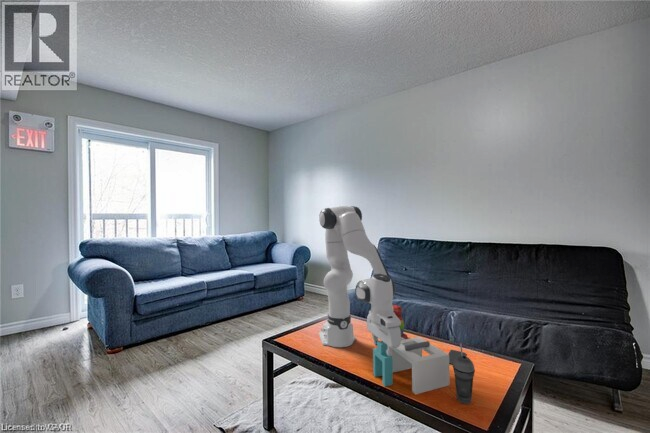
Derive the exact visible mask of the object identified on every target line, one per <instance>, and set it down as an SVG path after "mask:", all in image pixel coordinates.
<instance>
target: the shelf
mask: <svg viewBox="0 0 650 433" xmlns="http://www.w3.org/2000/svg"><path fill="white" fill-rule="evenodd" d="M423 351H424V352H426V353H427V354H429V355H424V356H423ZM391 356H392V361H393V373H397V372H398V373H399V372H402V371H406V370H410V369H411V392H412V393H413V394H414V395H419V394H423V393H426V392H430V391H433V390H437V389H440V388H445V387H448V386H450V364H449V353H447V352H446V351H444V350H443V349H440V347H437V346H435V345H433V344H432V343H431V342H430V341H428V340H425V339H423V338H421V337H420V336H417V337H412V338H407V339H405V340H401V344H400V346H399V347H397V348H393V350H392V355H391Z"/></svg>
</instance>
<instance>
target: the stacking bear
mask: <svg viewBox="0 0 650 433" xmlns="http://www.w3.org/2000/svg"><path fill="white" fill-rule="evenodd" d="M392 305H393V312H394V313H395V315H396V316H397V317H398V318H399V319H400V321H401V325H400V326H399V327H400V331H401V337H402V338H404V339H409V338H408V335H407V334H406V333H404V331H405V323H404V319H403V316H402V311H403V310H402V306H400V305H397V304H392Z"/></svg>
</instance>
